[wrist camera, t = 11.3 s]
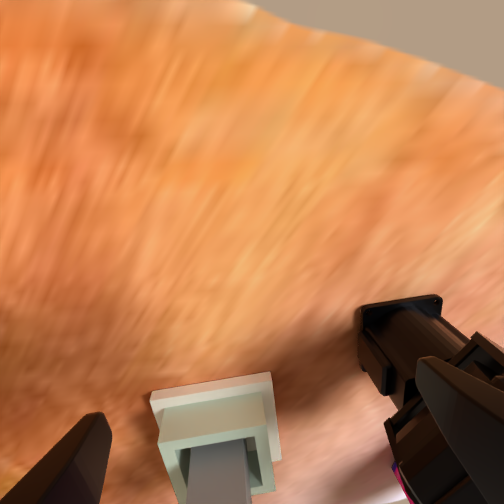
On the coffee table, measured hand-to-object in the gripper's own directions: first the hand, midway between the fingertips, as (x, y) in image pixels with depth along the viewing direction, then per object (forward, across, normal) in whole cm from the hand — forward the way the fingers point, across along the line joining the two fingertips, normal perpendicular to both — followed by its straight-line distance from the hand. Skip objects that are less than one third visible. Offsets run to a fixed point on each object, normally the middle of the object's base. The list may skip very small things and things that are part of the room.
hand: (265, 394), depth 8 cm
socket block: (+13, +4, +17) cm, 22 cm away
